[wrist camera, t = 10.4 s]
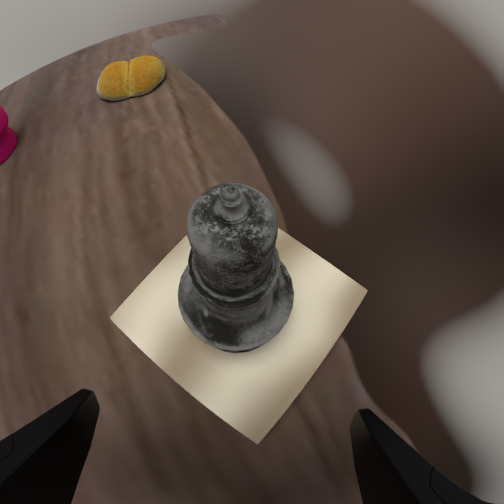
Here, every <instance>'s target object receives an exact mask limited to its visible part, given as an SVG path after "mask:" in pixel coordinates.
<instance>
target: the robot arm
mask: <svg viewBox="0 0 504 504" xmlns="http://www.w3.org/2000/svg"><path fill="white" fill-rule="evenodd" d="M99 410H100V408H99V404H98V401H97V399H96V396H95V394H94V392H93V391H92V390H88V389H81V390H79V391H78V392H76V393H75V394H73V395H72V396H70V397H69V398H67V399H66V400H64V401H63V402H61V403H60V404H58V405H56V406H55V407H53V408H52V409H50V410H49V411H47V412H46V413H44V414H42V415H41V416H39V417H38V418H36V419H35V420H33V421H32V422H30V423H28V424H27V425H25V426H24V427H22V428H21V429H19V430H17V431H16V432H15V434H14V433H13V434H11V435H9V436H8V437H6V438H4V439H3V440H1V441H0V504H71V502H72V499H73V496H74V493H75V490H76V487H77V484H78V481H79V478H80V475H81V472H82V469H83V466H84V463H85V461H86V458H87V455H88V452H89V449H90V447H91V443H92V439H93V435H94V431H95V427H96V423H97V419H98V415H99ZM350 432H351V441H352V449H353V459H354V466H355V471H356V475H357V479H358V483H359V488H360V492H361V497H362V501H363V504H492V503H488V502H485V501H482V500H481V499H479V498H477V497H475V496H474V495H472V494H471V493H469V492H468V491H466V490H464V489H463V488H461V487H460V486H458V485H457V484H455V483H454V482H452V481H451V480H450V479H448V478H447V477H445V476H444V475H443V474H442V473H441V472H440V471H438V470H437V469H436V468H435V467H434V466H432V465H431V464H430V463H429V462H428V461H427V460H426V459H425V458H423V457H422V456H421V455H420V454H419V453H418V452H417V451H415V450H414V449H413V448H412V447H411V446H410V445H409V444H408V443H406V442H405V441H404V440H403V439H402V438H401V437H400V436H399V435H398V434H396V433H395V432H394V431H393V430H392V429H391V428H390V427H389V426H388V425H386V424H385V423H384V422H383V421H382V420H381V419H380V418H379V417H378V416H377V415H376V414H374V413H373V412H372V411H371V410H370V409H368V408H365V409H358V410H357V411H356V413H355V415H354V417H353V420H352V422H351V425H350Z"/></svg>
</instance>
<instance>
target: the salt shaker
mask: <svg viewBox="0 0 504 504" xmlns="http://www.w3.org/2000/svg"><path fill="white" fill-rule="evenodd" d="M277 234H278V222H277V217H276V213H275V210H274V208H273V206H272V204H271V202H270V201H269V200H268V199H267V198H266V197H265V196H264V194H262V193H261V192H259V191H258V190H256V189H254V188H252V187H250V186H247V185H244V184H239V183H224V184H220V185H217V186H214V187H212V188H210V189H209V190H207V191H205V192H204V193H202V194H201V195H200V196H199V197H198V198H197V199H196V200H195V201H194V203H193V205H192V206H191V208H190V211H189V214H188V218H187V236H188V239H189V243H190V246H191V249H190V254H189V258H188V265H187V266H186V268H185V270H184V272H183V274H182V276H181V278H180V283H179V287H178V306H179V309H180V312H181V315H182V318H183V320H184V322H185V323H186V324H187V326H188V327H189V329H190V330H191V332H192V333H193V334H195V335H196V336H197V337H198V338H199V339H201V340H202V341H203V342H204V343H207V344H209V345H211V346H213V347H215V348H217V349H219V350H222V351H224V352H230V353H244V352H249V351H252V350H254V349H257V348H259V347H260V346H261V345H263V344H266V343H267V342H268V341H269V340H271V339H272V338H273V337H275V336H276V335H277V334H278V333H279V332H280V331H281V329H282V328H283V327H284V325H285V324H286V323H287V321H288V319H289V316H290V313H291V311H292V308H293V300H294V290H293V284H292V279H291V277H290V275H289V273H288V271H287V269H286V267H285V265H284V264H283V263H282V262H281V261H280V258H279V252H278V250H277V248H276V246H275V244H276V240H277Z"/></svg>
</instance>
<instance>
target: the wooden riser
mask: <svg viewBox="0 0 504 504" xmlns="http://www.w3.org/2000/svg"><path fill="white" fill-rule="evenodd" d="M275 246H276V248H277V250H278V252H279V258H280V261H281V262H282V263H283V264H284V265H285V267H286V269H287V271H288V273H289V275H290V277H291V279H292V284H293V290H294V300H293V308H292V311H291V313H290V316H289V319H288V321H287V323H286V324H285V325H284V327H283V328H282V329H281V331H280V332H279V333H278V334H277V335H276V336H275V337H273V338H272V339H271V340H269V341H268V342H267V343H266V344H263V345H261V346H260V347H259V348H257V349H254V350H252V351H249V352H244V353H230V352H224V351H222V350H219V349H217V348H215V347H213V346H211V345H209V344H207V343H204V342H203V341H202V340H201V339H199V338H198V337H197V336H196V335H195V334H193V333H192V332H191V330H190V329H189V327H188V326H187V324H186V323H185V322H184V320H183V318H182V315H181V312H180V309H179V306H178V287H179V283H180V278H181V276H182V274H183V272H184V270H185V268H186V266H187V265H188V258H189V254H190V249H191V246H190V243H189V239H188V236H187V235H186V236H185V237H184V238H183V239H182V240H181V241H180V242H179V243H178V244H177V245H176V247H175V248H174V249H173V250H172V251H171V252H170V253H169V254H168V255H167V256H166V257H165V258H164V259H163V260H162V261H161V262H160V263H159V264H158V265H157V266H156V268H155V269H154V270H153V271H152V272H151V273H150V274H149V275H148V276H147V277H146V278H145V279H144V280H143V282H142V283H141V284H140V285H139V286H138V287H137V288H136V289H135V290H134V291H133V292H132V294H131V295H130V296H129V297H128V298H127V299H126V300H125V301H124V302H123V304H122V305H121V306H120V307H119V308H118V309H117V310H116V311H115V313H114V314H113V315H112V316H111V317H110V319H111V320H112V321H113V322H114V323H115V324H116V325H117V326H118V327H119V328H120V329H121V330H122V331H123V332H124V333H125V334H126V335H127V336H128V337H129V338H130V339H131V340H132V341H133V342H134V343H135V344H136V345H137V346H138V347H139V348H140V349H141V350H142V351H143V352H144V353H145V354H146V355H147V356H148V357H149V358H150V359H151V360H152V361H153V362H155V363H156V364H157V365H158V366H159V367H160V368H161V369H162V370H163V371H164V372H166V373H167V374H168V375H169V376H170V377H171V378H172V379H173V380H175V381H176V382H177V383H178V384H179V385H180V386H182V387H183V388H184V389H185V390H186V391H187V392H189V393H190V394H191V395H192V396H193V397H195V398H196V399H197V400H198V401H200V402H201V403H202V404H203V405H205V406H206V407H207V408H208V409H210V410H211V411H212V412H213V413H215V414H216V415H217V416H219V417H220V418H221V419H223V420H224V421H225V422H227V423H228V424H229V425H231V426H232V427H233V428H235V429H236V430H238V431H239V432H240V433H242V434H243V435H245V436H246V437H247V438H249V439H250V440H252V441H253V442H255V443H256V444H259V443H260V441H261V440H262V439H263V438H264V437H265V436H266V434H267V433H268V432H269V431H270V430H271V428H272V427H273V426H274V425H275V424H276V422H277V421H278V420H279V419H280V417H281V416H282V415H283V414H284V412H285V411H286V410H287V409H288V407H289V406H290V405H291V403H292V402H293V401H294V400H295V398H296V397H297V396H298V394H299V393H300V392H301V390H302V389H303V388H304V386H305V385H306V384H307V382H308V381H309V380H310V378H311V377H312V375H313V374H314V373H315V371H316V370H317V368H318V367H319V366H320V364H321V363H322V361H323V360H324V358H325V357H326V356H327V354H328V353H329V351H330V350H331V348H332V347H333V345H334V344H335V342H336V341H337V339H338V338H339V336H340V335H341V333H342V331H343V330H344V329H345V327H346V325H347V324H348V322H349V321H350V319H351V317H352V316H353V314H354V313H355V311H356V309H357V308H358V306H359V305H360V303H361V301H362V300H363V298H364V296H365V294H366V293H367V290H366V289H365V288H364V287H362V286H361V285H359V284H358V283H357V282H355V281H354V280H352V279H351V278H350V277H348V276H347V275H345V274H344V273H343V272H341V271H340V270H338V269H337V268H336V267H334V266H333V265H331V264H330V263H328V262H327V261H326V260H324V259H323V258H321V257H320V256H318V255H317V254H315V253H314V252H312V251H311V250H310V249H308V248H307V247H305V246H304V245H302V244H301V243H300V242H298V241H297V240H295V239H293V238H292V237H291V236H289V235H288V234H286V233H285V232H283V231H282V230H280V229H279V228H278V234H277V240H276V244H275Z"/></svg>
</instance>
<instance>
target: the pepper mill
mask: <svg viewBox="0 0 504 504" xmlns="http://www.w3.org/2000/svg"><path fill="white" fill-rule="evenodd" d="M7 127H8V115H7V113H6V112H5V111H4V109H3V108H2V107H0V164H1V163H3V162H4V161H5V160H6V159H7V158H8V156H9V155H10V154H11V153H12V151H13V149H14V148H15V146H16V143H17V137H16V135H15V134H14V132H13V130H12V129H11V128H7Z"/></svg>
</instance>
